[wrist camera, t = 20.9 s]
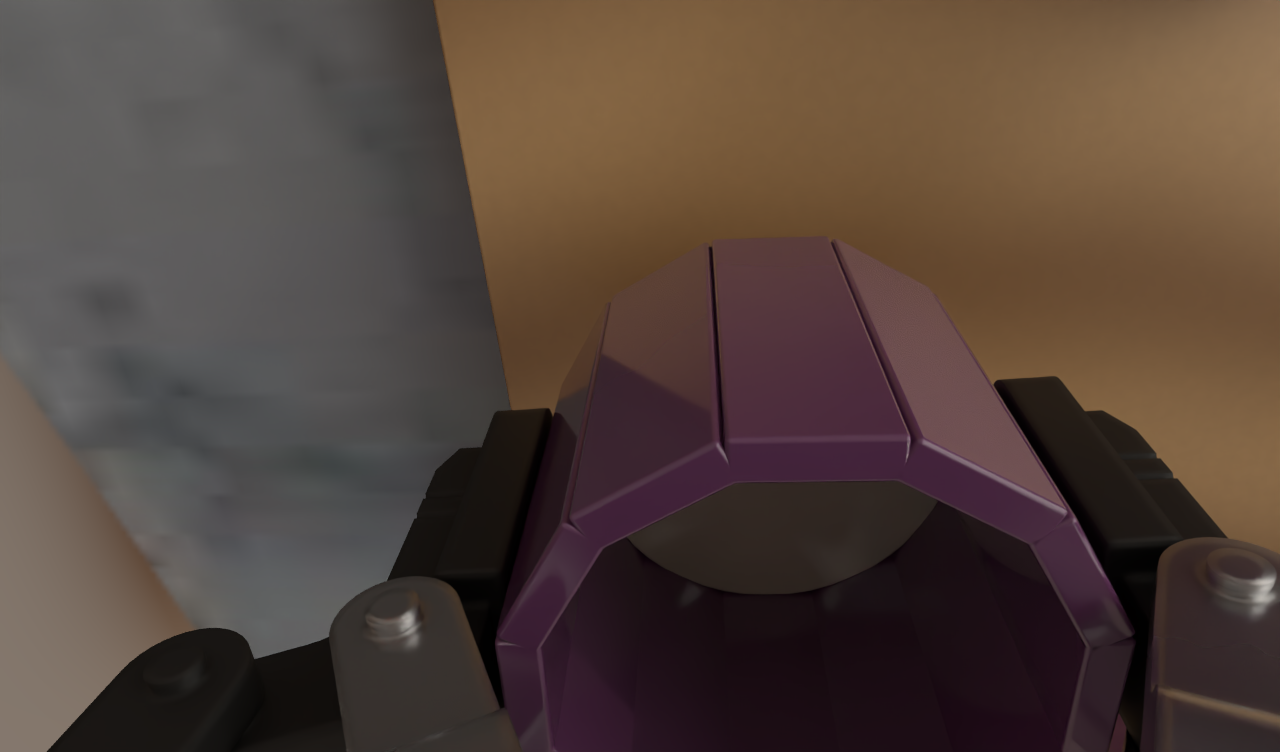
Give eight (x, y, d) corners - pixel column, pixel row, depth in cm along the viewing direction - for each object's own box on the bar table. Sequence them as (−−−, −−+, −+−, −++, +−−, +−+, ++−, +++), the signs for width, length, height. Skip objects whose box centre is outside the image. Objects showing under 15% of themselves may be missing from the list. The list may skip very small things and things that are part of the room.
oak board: (1323, 712, 22) (1364, 763, 21) (588, 739, 24) (582, 788, 23) (1757, -673, 12) (1895, -748, 10) (372, -456, 13) (336, -496, 12)
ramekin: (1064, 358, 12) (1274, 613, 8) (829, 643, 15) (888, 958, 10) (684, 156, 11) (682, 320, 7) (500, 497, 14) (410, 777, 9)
